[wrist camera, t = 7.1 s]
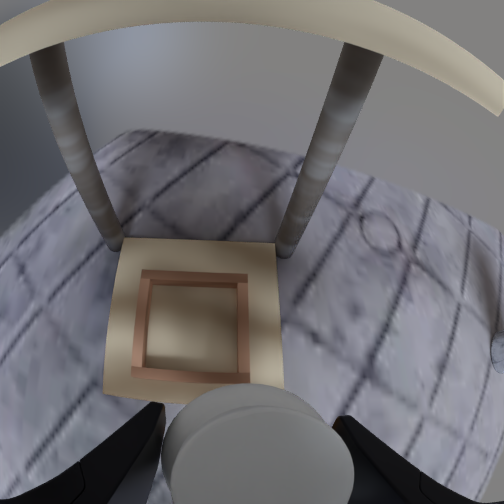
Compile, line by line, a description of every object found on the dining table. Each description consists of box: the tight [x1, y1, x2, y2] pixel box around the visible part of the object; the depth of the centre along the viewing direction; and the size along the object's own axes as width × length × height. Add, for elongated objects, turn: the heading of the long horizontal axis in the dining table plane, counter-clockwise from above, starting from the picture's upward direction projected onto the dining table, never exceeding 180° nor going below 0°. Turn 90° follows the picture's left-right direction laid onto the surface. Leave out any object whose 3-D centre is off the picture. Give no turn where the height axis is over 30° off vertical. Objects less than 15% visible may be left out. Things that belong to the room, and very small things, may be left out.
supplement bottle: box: [161, 383, 354, 504], centre depth 8 cm, size 5×5×10 cm
